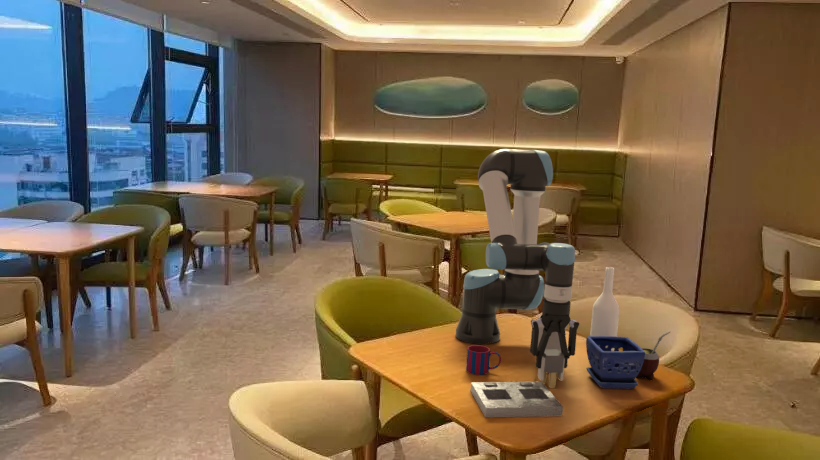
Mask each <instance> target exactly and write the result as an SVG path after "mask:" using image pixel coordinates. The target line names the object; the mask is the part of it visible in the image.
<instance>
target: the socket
mask: <svg viewBox="0 0 820 460" xmlns="http://www.w3.org/2000/svg"><path fill="white" fill-rule="evenodd" d="M470 394H471V395H472V397H473V398H474V400H475V401H476V403H477V405H478V407H479V409H480V411H481V412H482V415H483V416H484V418H522V417H523V418H525V417H527V418H528V417H531V418H533V417H534V418H535V417H563V412H564V411H563V410H564V406H563V405H562V404H561V402H560V401H559V399H557V398H556V397H555V395H553V393H552V392H551V391H550V390H549V389H548V387H547V386H546V385H545V384H543V383H542V382H540V381H488V382H487V381H486V382H485V381H483V382H482V381H480V382H478V381H476V382H475V381H473V382H470Z"/></svg>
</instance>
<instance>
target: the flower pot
mask: <svg viewBox="0 0 820 460" xmlns="http://www.w3.org/2000/svg"><path fill="white" fill-rule="evenodd" d="M599 345H600V346H599ZM585 346H586V347H585V348H586V354H587V358H588V359H587V360H588V363H589V365H590V367H586V372H587V373H588V374H589V376H590V377H591V378H592V379H593V380H594V381H595V383H596V384H597V385H598V386H599V387H600V388H601V389H623V390H624V389H625V390H626V389H629V390H632V389H634V388H636V387H637V386H638V385H639V382H638V381H637V380H636V379H637V378H636V376H637V375H638V374H639V372H640V370H641V367H642V365H643V362H644V358H645V352H644V350H643V349H642V348H643V347H642V348H641V346H640V345H638V344H637V343H636V342H635V341H633V340H632V339H630V338H629V337H628V336H617V337H614V336H590V335H589V336H587V337H586V340H585ZM606 346H608V347H607V348H606ZM612 348H614V351H611V349H612ZM621 348H622V350H620V349H621Z"/></svg>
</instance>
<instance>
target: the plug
mask: <svg viewBox="0 0 820 460" xmlns="http://www.w3.org/2000/svg"><path fill="white" fill-rule="evenodd" d="M543 357H544V358H545V367H544V380H543V381H541V380H540V381H539V382H542V383H543V384H544V385H545V384H547V374H549V375H548V387H549V389H550V388H551V389H553V388H554V389H555V388H556V384H557V373H563V364H564V355H563V354H562V353H561V352H560V351H559V350H558V349H545V352H544V354H543ZM563 374H564V373H563Z"/></svg>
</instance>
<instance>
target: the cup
mask: <svg viewBox="0 0 820 460" xmlns="http://www.w3.org/2000/svg"><path fill="white" fill-rule="evenodd" d="M492 355H497V356H498V363H497V364H496V365H493V366H490V358H491V356H492ZM501 362H502V357H501V354H500V353H499V352H497V351H491V348H489V347H487V346H485V345H482V344H472V345H469V346H467V350H466V363H465V364H466V367H465V369H466V372H467V373H469V374H471V375H476V376H483V375H487V374H488V373H489V371H490V370H494V369H496V368H498V367H499V366H500V364H501Z"/></svg>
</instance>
